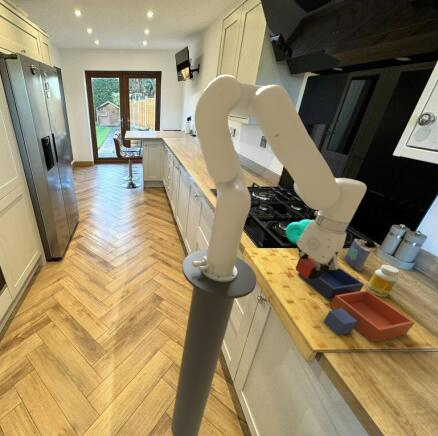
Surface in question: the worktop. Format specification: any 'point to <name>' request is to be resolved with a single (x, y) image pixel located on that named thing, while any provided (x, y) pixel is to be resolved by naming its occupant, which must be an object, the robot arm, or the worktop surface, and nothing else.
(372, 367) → the worktop surface
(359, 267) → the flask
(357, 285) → the navy bin
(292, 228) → the donuts
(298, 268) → the brick block
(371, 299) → the terracotta bin
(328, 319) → the slate block
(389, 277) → the supplement bottle
